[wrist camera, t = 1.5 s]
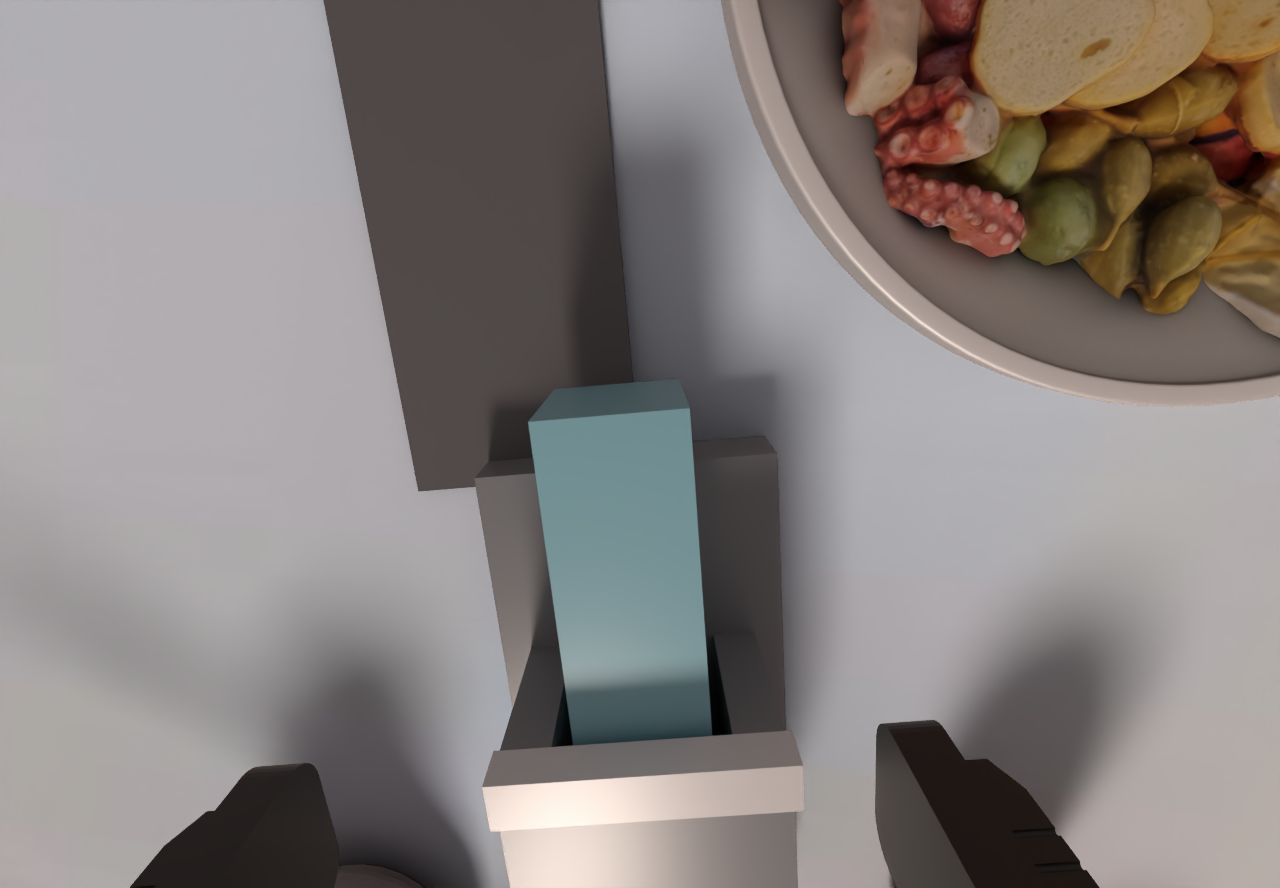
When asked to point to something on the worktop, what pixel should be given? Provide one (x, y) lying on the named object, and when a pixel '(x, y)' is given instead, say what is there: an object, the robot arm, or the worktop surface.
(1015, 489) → the worktop surface
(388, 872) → the coffee pot
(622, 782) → the dispenser
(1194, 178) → the bowl
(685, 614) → the teal rectangular slab
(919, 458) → the worktop surface
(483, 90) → the mat
